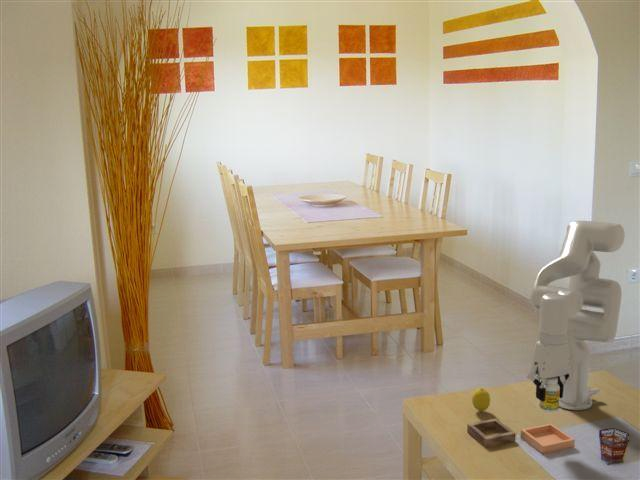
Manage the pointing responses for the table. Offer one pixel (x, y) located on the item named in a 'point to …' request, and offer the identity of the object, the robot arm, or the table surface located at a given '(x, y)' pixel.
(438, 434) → the table surface
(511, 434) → the tray
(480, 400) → the lemon
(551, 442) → the dish
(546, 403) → the supplement bottle
